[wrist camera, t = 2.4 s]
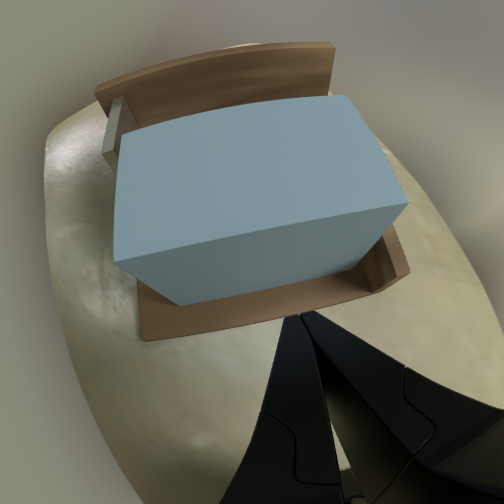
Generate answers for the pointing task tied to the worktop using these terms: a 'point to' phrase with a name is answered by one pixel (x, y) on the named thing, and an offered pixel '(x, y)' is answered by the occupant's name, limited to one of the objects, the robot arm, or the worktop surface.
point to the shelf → (227, 95)
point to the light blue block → (251, 197)
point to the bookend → (117, 130)
